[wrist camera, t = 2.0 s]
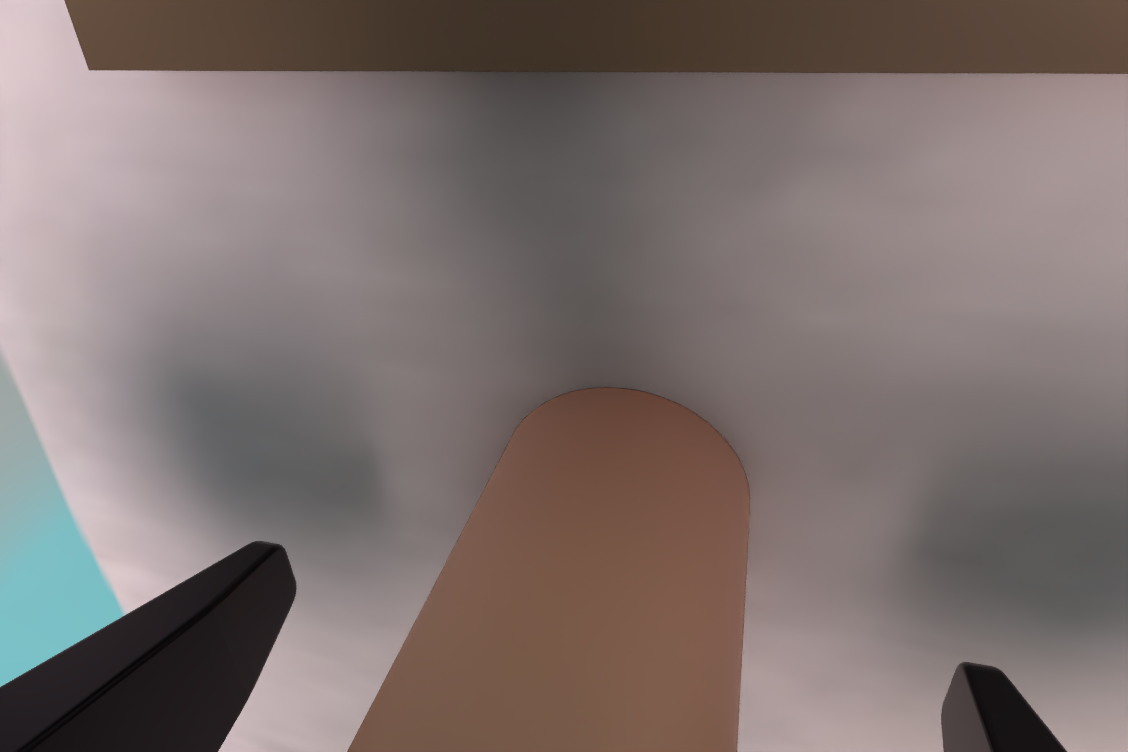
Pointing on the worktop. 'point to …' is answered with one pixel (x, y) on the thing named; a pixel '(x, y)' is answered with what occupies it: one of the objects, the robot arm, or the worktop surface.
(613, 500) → the terracotta pin
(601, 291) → the worktop surface
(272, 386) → the worktop surface
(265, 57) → the board
